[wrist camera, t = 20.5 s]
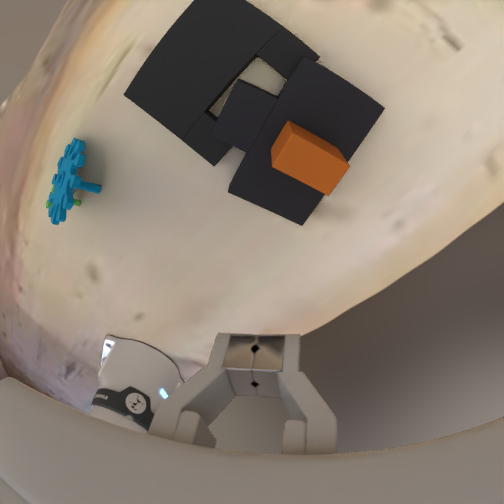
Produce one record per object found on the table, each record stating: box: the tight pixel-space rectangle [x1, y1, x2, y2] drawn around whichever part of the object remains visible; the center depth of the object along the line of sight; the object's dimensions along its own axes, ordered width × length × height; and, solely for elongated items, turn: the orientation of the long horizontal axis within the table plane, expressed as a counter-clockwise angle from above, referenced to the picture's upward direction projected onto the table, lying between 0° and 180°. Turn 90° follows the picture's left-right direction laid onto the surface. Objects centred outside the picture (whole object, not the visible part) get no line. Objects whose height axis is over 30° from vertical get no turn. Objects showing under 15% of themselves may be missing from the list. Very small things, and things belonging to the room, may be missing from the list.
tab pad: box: [210, 56, 385, 226], centre depth 21 cm, size 14×12×6 cm
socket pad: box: [124, 0, 320, 166], centre depth 21 cm, size 14×12×2 cm
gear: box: [46, 138, 101, 225], centre depth 28 cm, size 11×6×10 cm
